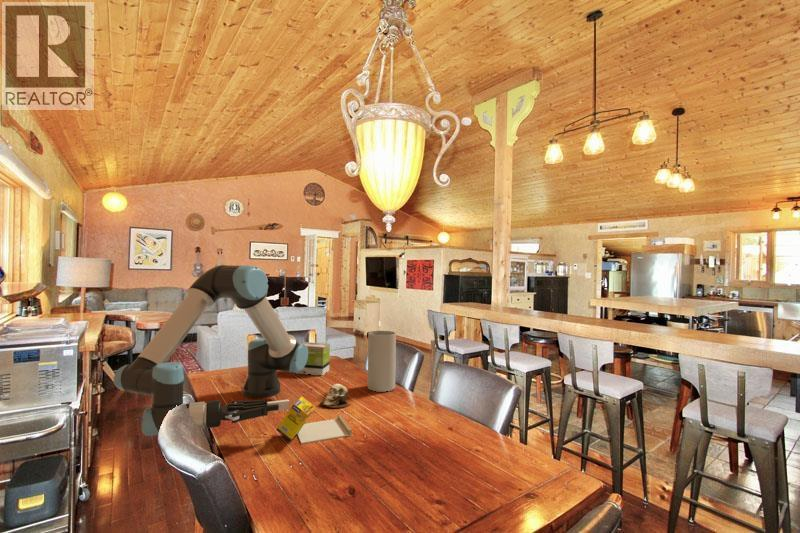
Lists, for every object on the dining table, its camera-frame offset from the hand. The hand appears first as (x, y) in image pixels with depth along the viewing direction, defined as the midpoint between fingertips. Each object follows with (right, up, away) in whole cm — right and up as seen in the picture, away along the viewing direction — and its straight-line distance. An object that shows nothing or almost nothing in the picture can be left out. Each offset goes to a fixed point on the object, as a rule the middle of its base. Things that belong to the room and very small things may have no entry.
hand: (288, 404), depth 121 cm
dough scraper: (+10, -11, +5) cm, 15 cm away
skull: (+10, -11, +31) cm, 34 cm away
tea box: (-10, -11, +74) cm, 76 cm away
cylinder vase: (+27, -11, +51) cm, 59 cm away
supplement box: (-1, -9, 0) cm, 9 cm away
